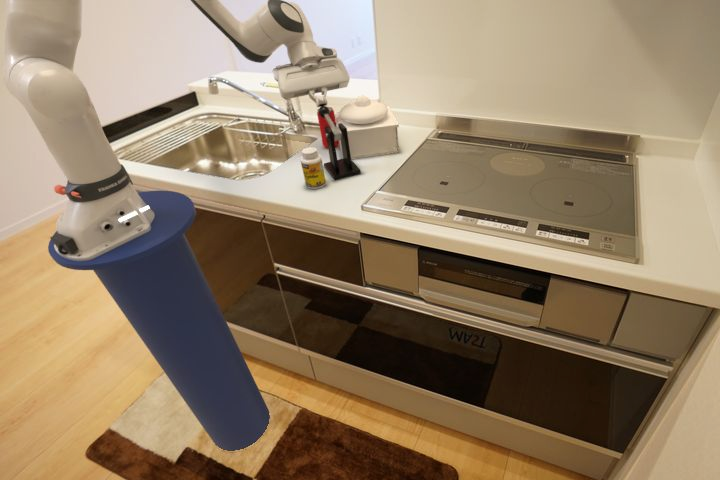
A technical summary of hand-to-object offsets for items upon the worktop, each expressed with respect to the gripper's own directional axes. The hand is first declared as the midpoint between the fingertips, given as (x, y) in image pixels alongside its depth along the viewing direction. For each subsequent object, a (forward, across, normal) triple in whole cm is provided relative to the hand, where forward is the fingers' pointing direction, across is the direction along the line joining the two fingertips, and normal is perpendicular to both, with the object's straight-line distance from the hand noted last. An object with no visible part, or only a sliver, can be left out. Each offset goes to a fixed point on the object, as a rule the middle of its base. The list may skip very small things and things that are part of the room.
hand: (322, 105), depth 118 cm
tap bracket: (+18, 0, +4) cm, 19 cm away
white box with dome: (+10, +13, +13) cm, 21 cm away
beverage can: (+6, +2, +17) cm, 18 cm away
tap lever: (+7, 0, 0) cm, 7 cm away
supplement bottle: (+22, -9, +1) cm, 24 cm away
